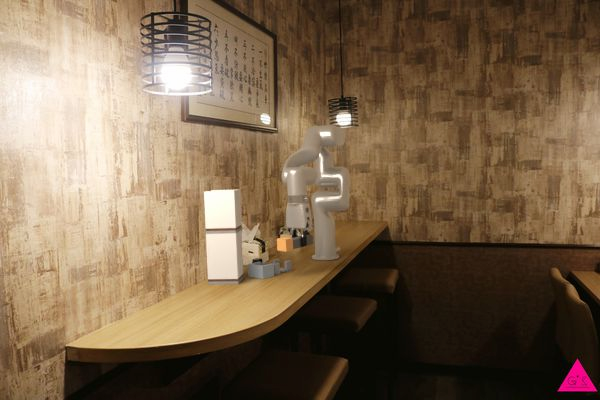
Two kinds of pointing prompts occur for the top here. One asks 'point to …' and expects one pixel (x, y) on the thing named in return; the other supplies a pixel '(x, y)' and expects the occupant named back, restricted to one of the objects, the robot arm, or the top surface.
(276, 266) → the clip
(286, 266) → the clip
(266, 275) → the end holder
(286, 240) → the orange and grey bar
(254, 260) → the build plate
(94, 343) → the top surface
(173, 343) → the top surface
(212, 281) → the white banded pillar
